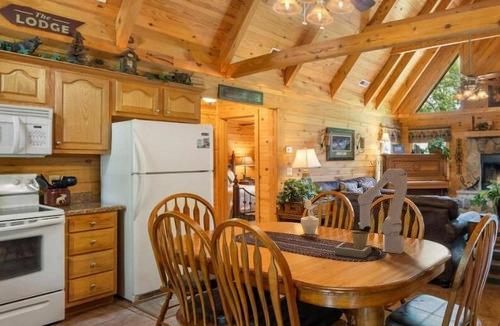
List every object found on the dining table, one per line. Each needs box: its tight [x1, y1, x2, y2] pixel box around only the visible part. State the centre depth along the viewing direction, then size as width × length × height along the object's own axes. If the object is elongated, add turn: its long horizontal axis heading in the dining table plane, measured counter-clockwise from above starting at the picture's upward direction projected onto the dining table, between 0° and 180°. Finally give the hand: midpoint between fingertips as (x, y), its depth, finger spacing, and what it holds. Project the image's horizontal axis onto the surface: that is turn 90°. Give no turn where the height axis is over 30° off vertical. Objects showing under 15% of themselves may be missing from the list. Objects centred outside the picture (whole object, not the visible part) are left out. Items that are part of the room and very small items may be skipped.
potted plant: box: [300, 197, 320, 235], centre depth 246 cm, size 13×12×25 cm
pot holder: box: [334, 241, 372, 259], centre depth 196 cm, size 15×14×4 cm
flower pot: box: [350, 230, 370, 250], centre depth 206 cm, size 9×9×9 cm
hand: (365, 239), depth 215 cm, fingers closed
